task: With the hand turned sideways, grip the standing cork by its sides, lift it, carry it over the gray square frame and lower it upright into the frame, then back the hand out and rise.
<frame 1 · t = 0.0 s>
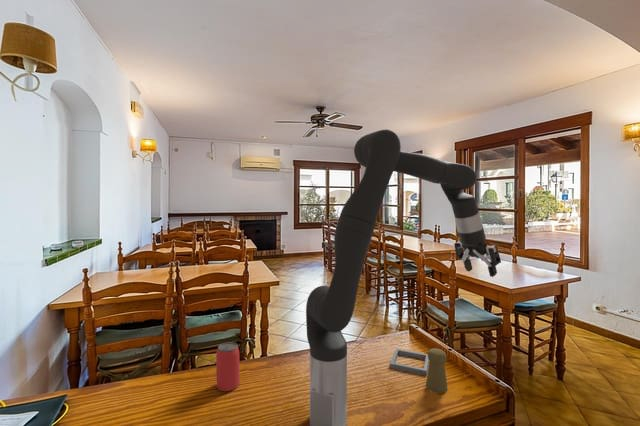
hand: (481, 272, 102), 31 cm above the table, tool tilted 20°, fingers open, 8 cm apart
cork: (436, 387, 92), on the table
beer can: (228, 386, 93), on the table
gray square frame: (410, 363, 106), on the table
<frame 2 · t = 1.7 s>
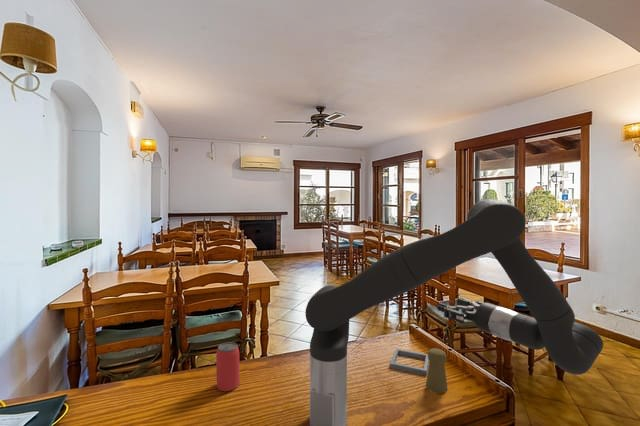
hand: (448, 303, 95), 24 cm above the table, tool horizontal, fingers open, 8 cm apart
nothing on the table moved.
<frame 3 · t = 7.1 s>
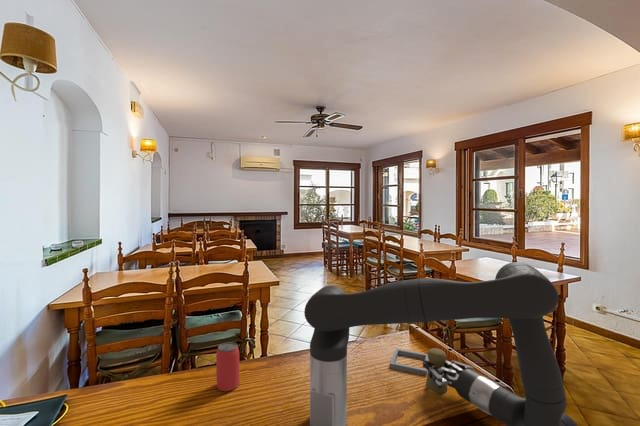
hand: (429, 361, 94), 7 cm above the table, tool horizontal, fingers closed on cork, 4 cm apart
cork: (436, 387, 92), on the table, touching gripper
everything else where it was.
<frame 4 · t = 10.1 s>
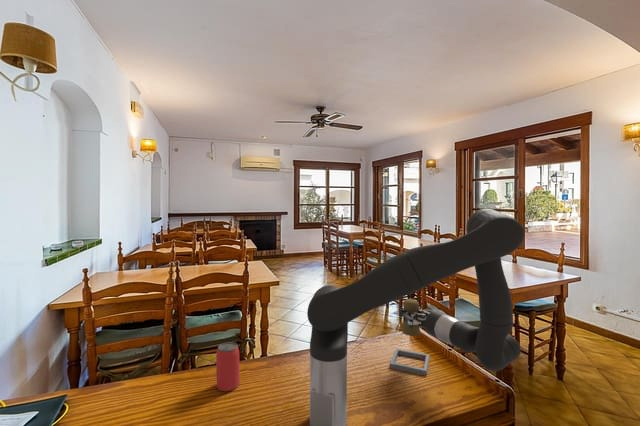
hand: (405, 310, 108), 17 cm above the table, tool horizontal, fingers closed on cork, 4 cm apart
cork: (411, 332, 106), point 10 cm above the table, touching gripper
everything else where it was.
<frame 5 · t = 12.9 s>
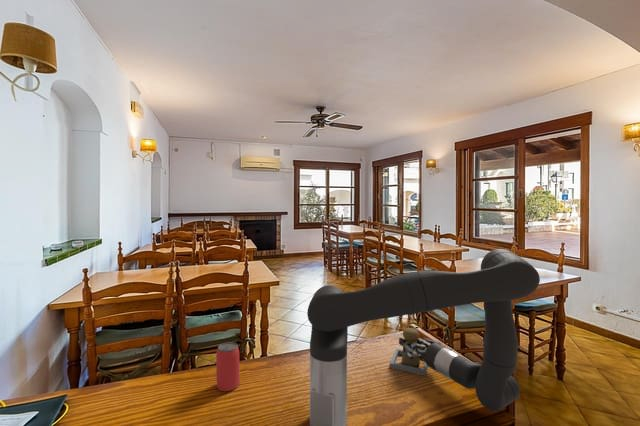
hand: (404, 339, 108), 7 cm above the table, tool horizontal, fingers closed on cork, 4 cm apart
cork: (410, 361, 106), resting in gray square frame, touching gripper
everything else where it was.
when the fingers open (7 cm above the table, at t = 13.5 s): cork moves 2 cm, resting in gray square frame.
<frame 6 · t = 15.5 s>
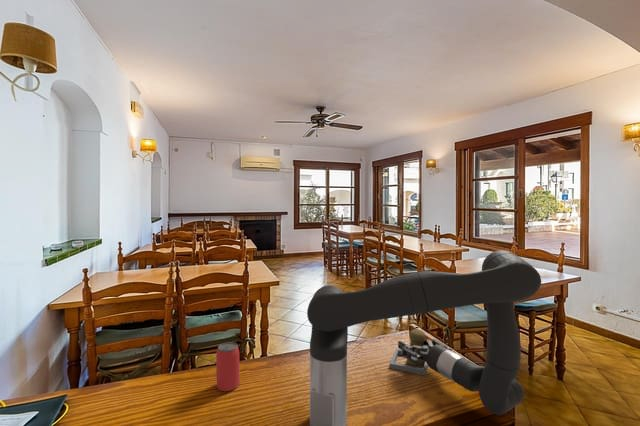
hand: (408, 341, 106), 7 cm above the table, tool horizontal, fingers open, 8 cm apart
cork: (415, 362, 106), resting in gray square frame, touching gripper
everything else where it was.
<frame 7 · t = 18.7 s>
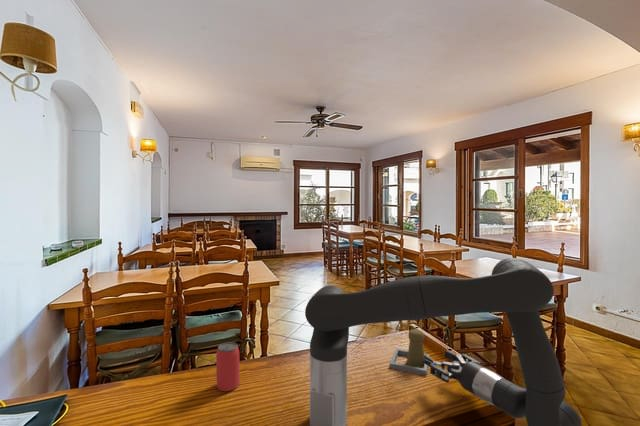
hand: (435, 356, 96), 7 cm above the table, tool horizontal, fingers open, 8 cm apart
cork: (415, 363, 106), resting in gray square frame
everything else where it was.
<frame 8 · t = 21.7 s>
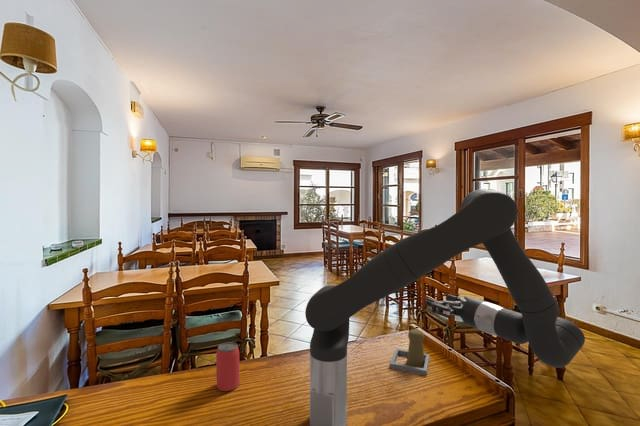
hand: (436, 299, 95), 25 cm above the table, tool horizontal, fingers open, 8 cm apart
nothing on the table moved.
at the end: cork 2.1 cm off-centre on the gray square frame, point 0.0 cm above the gray square frame's base; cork tilted 0°; the gripper is holding nothing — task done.
